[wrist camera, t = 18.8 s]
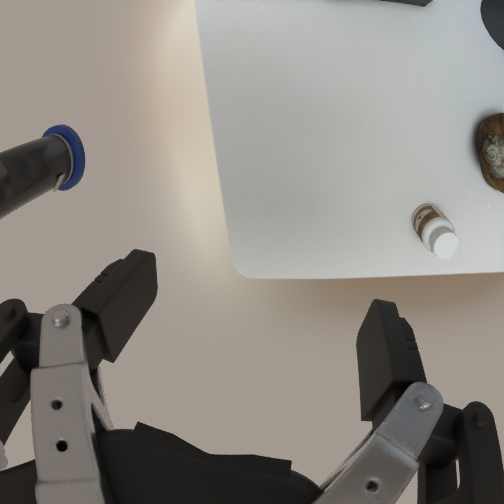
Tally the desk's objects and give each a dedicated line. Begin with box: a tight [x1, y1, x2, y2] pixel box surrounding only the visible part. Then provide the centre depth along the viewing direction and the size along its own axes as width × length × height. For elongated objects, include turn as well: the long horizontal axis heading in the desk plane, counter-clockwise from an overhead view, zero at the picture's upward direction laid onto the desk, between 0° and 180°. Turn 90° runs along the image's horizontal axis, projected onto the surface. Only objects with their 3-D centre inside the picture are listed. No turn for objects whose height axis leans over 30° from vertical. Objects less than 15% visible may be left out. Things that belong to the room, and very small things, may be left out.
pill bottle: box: [412, 204, 460, 260], centre depth 31 cm, size 4×4×8 cm
